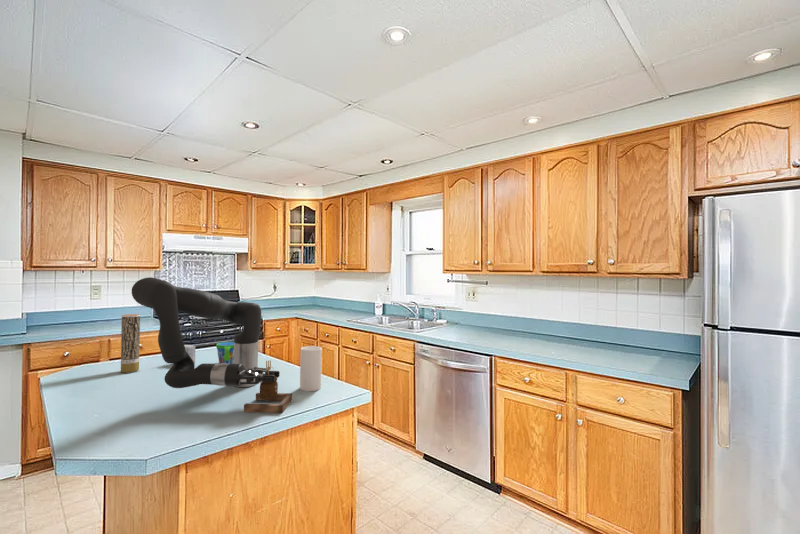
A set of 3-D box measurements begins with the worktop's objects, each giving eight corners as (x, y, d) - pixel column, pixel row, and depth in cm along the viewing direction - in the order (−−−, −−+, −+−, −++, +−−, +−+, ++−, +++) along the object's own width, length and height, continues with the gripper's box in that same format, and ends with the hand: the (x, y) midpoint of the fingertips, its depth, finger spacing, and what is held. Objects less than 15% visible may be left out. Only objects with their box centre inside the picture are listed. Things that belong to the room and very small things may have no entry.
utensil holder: (260, 400, 137) (262, 364, 137) (258, 395, 143) (259, 360, 143) (278, 398, 140) (280, 363, 140) (275, 393, 145) (277, 360, 145)
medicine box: (195, 363, 196) (196, 345, 196) (188, 365, 192) (188, 347, 192) (183, 362, 199) (183, 344, 199) (175, 364, 195) (175, 346, 194)
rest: (243, 412, 135) (243, 404, 135) (256, 399, 148) (257, 392, 148) (282, 412, 135) (282, 405, 135) (292, 400, 148) (292, 393, 148)
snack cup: (219, 360, 203) (219, 340, 203) (241, 360, 205) (242, 340, 205) (212, 368, 187) (212, 346, 187) (236, 368, 190) (237, 346, 190)
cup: (315, 392, 158) (316, 350, 158) (296, 390, 159) (297, 349, 159) (323, 385, 166) (324, 346, 166) (305, 384, 168) (306, 345, 167)
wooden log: (126, 369, 183) (127, 313, 183) (142, 369, 184) (143, 314, 184) (117, 373, 176) (118, 315, 176) (133, 373, 177) (134, 316, 177)
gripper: (219, 368, 134) (271, 370, 134) (236, 359, 148) (283, 361, 148) (218, 391, 134) (270, 393, 134) (235, 379, 148) (282, 381, 148)
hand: (276, 376), depth 141 cm, fingers closed on utensil holder, 5 cm apart
